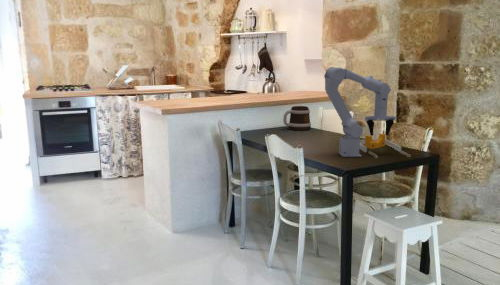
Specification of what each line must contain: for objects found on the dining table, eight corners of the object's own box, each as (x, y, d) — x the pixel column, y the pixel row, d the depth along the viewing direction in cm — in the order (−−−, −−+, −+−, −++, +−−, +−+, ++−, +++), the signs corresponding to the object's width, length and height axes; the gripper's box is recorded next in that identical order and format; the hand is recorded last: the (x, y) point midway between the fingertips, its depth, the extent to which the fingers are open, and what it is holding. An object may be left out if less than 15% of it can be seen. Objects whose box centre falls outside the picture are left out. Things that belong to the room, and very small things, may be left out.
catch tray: (365, 152, 218) (365, 147, 217) (352, 144, 238) (353, 139, 238) (401, 151, 219) (401, 146, 218) (385, 143, 239) (386, 139, 239)
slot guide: (375, 158, 205) (375, 155, 205) (368, 153, 215) (368, 151, 215) (410, 157, 206) (410, 155, 206) (401, 153, 216) (402, 150, 216)
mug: (303, 126, 298) (303, 105, 296) (315, 130, 285) (316, 107, 282) (277, 128, 290) (278, 106, 287) (289, 132, 277) (289, 108, 274)
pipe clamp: (370, 149, 226) (371, 136, 225) (364, 147, 230) (365, 135, 229) (387, 146, 232) (388, 134, 231) (381, 145, 236) (382, 133, 235)
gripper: (368, 108, 205) (367, 136, 208) (398, 108, 206) (396, 136, 209) (364, 106, 212) (362, 134, 215) (393, 106, 213) (391, 133, 216)
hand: (379, 135), depth 212 cm, fingers open, 7 cm apart
